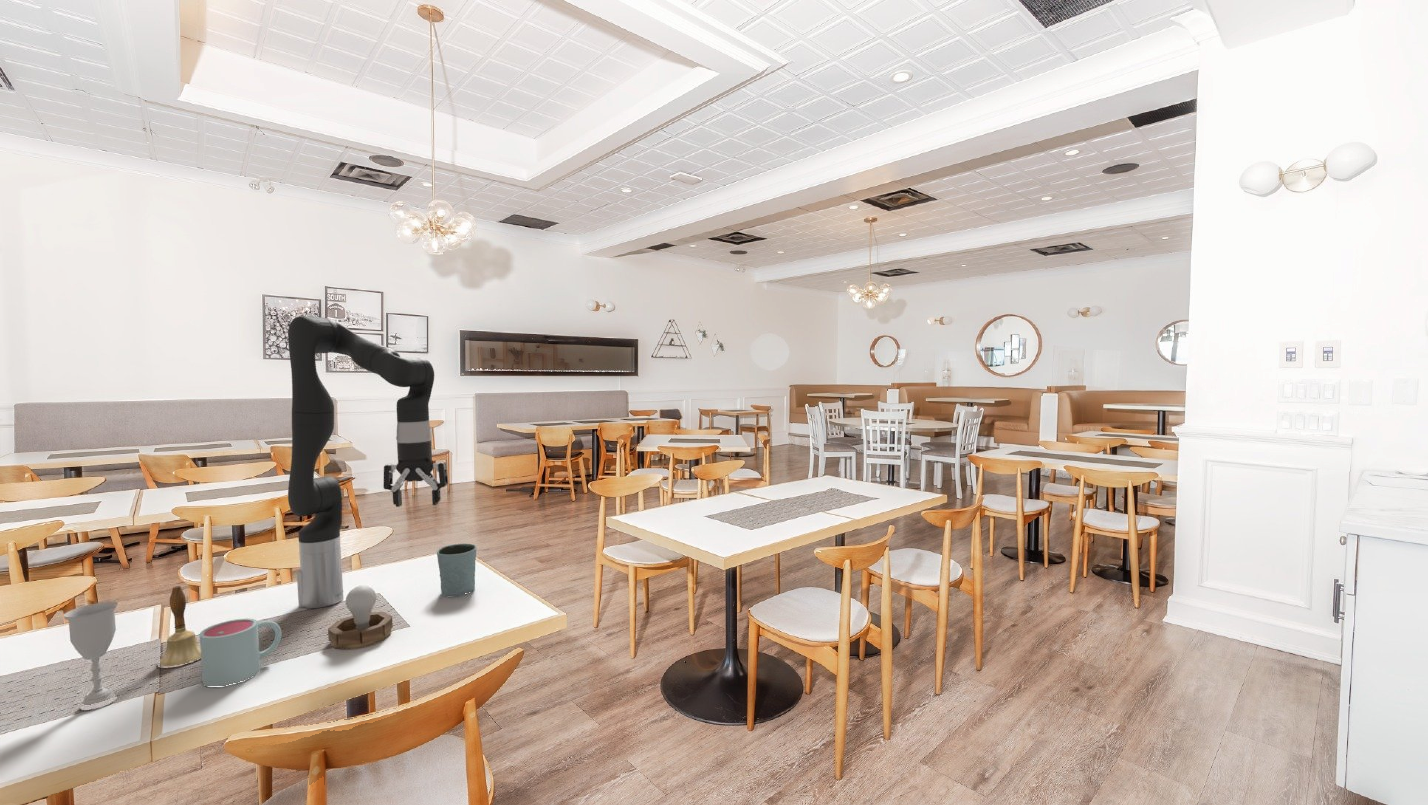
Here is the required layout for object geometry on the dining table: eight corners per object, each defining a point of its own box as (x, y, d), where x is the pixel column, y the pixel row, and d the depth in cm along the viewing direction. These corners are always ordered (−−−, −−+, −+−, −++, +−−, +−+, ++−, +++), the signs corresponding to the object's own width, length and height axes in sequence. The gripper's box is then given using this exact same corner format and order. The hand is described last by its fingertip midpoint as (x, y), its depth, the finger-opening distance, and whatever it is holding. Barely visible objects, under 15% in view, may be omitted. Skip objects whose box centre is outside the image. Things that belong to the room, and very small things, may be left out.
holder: (320, 651, 134) (319, 635, 134) (345, 628, 146) (345, 614, 146) (378, 647, 136) (377, 631, 136) (399, 624, 148) (398, 610, 147)
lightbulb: (364, 640, 137) (362, 591, 137) (340, 638, 139) (338, 590, 138) (384, 628, 143) (381, 582, 143) (361, 626, 144) (358, 581, 144)
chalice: (97, 694, 118) (90, 602, 117) (135, 692, 118) (128, 600, 117) (60, 715, 111) (51, 618, 110) (100, 713, 111) (93, 616, 110)
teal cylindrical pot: (465, 582, 177) (463, 541, 176) (485, 589, 171) (484, 546, 170) (431, 593, 168) (429, 550, 168) (451, 601, 162) (449, 556, 162)
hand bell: (151, 672, 126) (145, 596, 125) (164, 656, 134) (159, 584, 133) (202, 663, 130) (197, 589, 129) (212, 647, 137) (207, 577, 136)
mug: (214, 692, 118) (210, 642, 117) (195, 680, 123) (191, 631, 122) (293, 662, 129) (290, 616, 129) (273, 652, 134) (270, 607, 134)
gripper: (449, 437, 154) (452, 500, 155) (389, 438, 152) (392, 503, 153) (439, 440, 147) (442, 507, 148) (376, 442, 145) (380, 510, 146)
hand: (417, 505), depth 151 cm, fingers open, 8 cm apart
